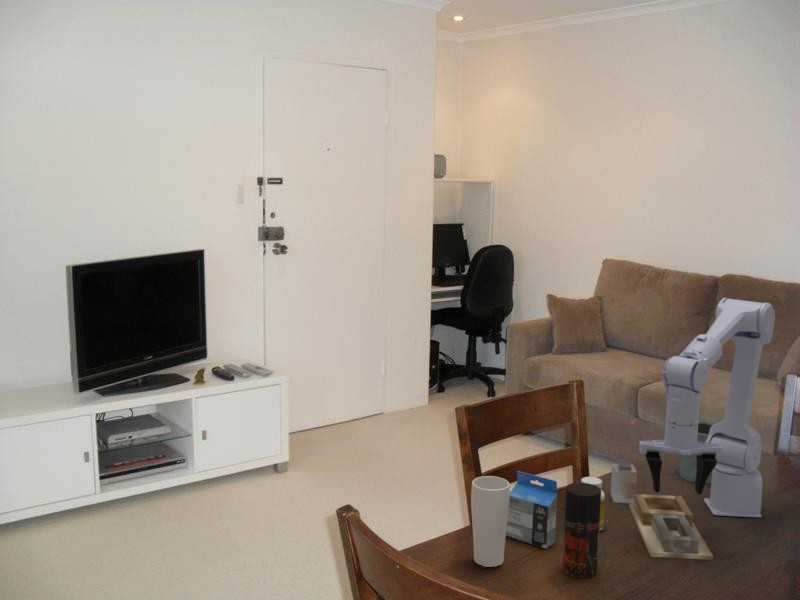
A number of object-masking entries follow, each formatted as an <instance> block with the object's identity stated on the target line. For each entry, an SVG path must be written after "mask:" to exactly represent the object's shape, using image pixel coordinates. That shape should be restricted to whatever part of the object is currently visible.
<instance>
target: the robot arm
mask: <svg viewBox="0 0 800 600" xmlns="http://www.w3.org/2000/svg"><path fill="white" fill-rule="evenodd" d="M775 321H776V314H775V309H774V307H773V305H772V304H771V303H770V302H757V301H749V300H744V299H743V300H742V299H736V298H735V299H734V298H729V297H723V298H722V299H721V300H720V301H719V302H718V303H717V307H716V310H715V320H714V322H713V323H712V324H711V326H710V327H709V329H708V330H707V332H706V333H705V334H703V333H702V334H698V335H696V336H695V337H694V338H693V340H691V342H690V343H689V344H688V345H687V346H686V348H685V349H684V350H683V351H681V353H680V354H679V355H674V356H672V357H669V358H668V359H666V361H665V364H664V365H663V370H662V372H661V379H662V383H663V385H664V389H663V390H664V391H663V392H664V395H665V396H666V411H665V427H664V439H655V440H654V439H653V440H639V441H638V442H639V443H638V444H639V446H638V451H639V453H640V455H644V456H645V459H646V461H647V464H648V467H649V469H650V474H651V478H652V484H653V485H652V489H653V490H654V492H655V493H660V490H661V471H662V466H663V460H662V459H661V455H680V454H681V455H696V459H697V473H696V481H695V483H694V488H695V489H694V491H695V492H696V493H697V495H702V494H703V490H704V488H705V485H706V484H705V482H706V480H707V478H708V476H709V474H710V473H711V471H712V482H711V486H710V497H704V498H703V501H704V503H705V504H706V506H707V507H708V509H709V511H710V513H711V514H712V515H713V516H720V517H721V516H722V517H723V516H724V517H725V516H726V517H741V518H742V517H743V518H762V514H761V512H762V510H761V509H762V500H763V499H762V498H763V497H762V496H763V478H762V477H763V476H762V475H761V472H760V470H758V467H759V466H760V463H761V461H762V460H761V459H762V436H761V435H760V434H759V432H758V431H757V430H756V429H755V428H754V427H753V426H752V425H751V424H750V422H751V421H750V419H751V417H752V416H751V415H752V409H753V403H754V397H755V392H756V384H757V380H758V375H759V374H758V372H759V368H760V362H761V356H762V352H763V351H762V350H763V347H764V346H765V345H768V344H770V343H771V342H772V338H773V334H774V333H773V332H774V328H775ZM729 340H732V341H733V343H734V345H735V351H734V356H733V357H734V358H733V362H732V368H731V375H730V379H729V386H728V393H727V397H726V398H727V399H726V403H725V404H726V405H725V409H724V410H725V411H724V414H723V415H724V417H723V420H721V421H719V422H717V423H715V425H713V426H712V427H711V428H710V431H709V435H708V438H707V440H706V442H705V443H704V442H697V436H698V421H700V419H699V418H700V405H701V392H702V390H704V388H705V387H706V385H707V382H708V378H709V377H710V374H711V369H712V368H713V366H714V365H715V364H716V363H717V362H718V361H719V360H720V358H721V357H722V355H723V350H724V349H723V346H724V345H725V344H726V343H727V342H728V341H729ZM722 434H727V435H722Z"/></svg>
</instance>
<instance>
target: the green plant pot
mask: <svg viewBox="0 0 800 600" xmlns="http://www.w3.org/2000/svg"><path fill="white" fill-rule="evenodd" d="M715 424H716V423H714V422H711V421H710V422H709V421H706V420H705V421H703V420H699V421H698V436H697V442H704V443H705V442H706V440H707V438H708V435H709V431H710V428H711V427H712V426H713V425H715ZM722 435H727V436H728V434H722ZM696 473H697V459H696V455H681V454H679V476H680V477H681V479H683V480H685V481H688V482H691V483H694V484H695V481H696ZM711 482H712V471H711V473H710V474H709V476H708V478H707V480H706V482H705V485H706V484H709V485H710V484H711Z"/></svg>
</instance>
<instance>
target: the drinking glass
mask: <svg viewBox="0 0 800 600" xmlns="http://www.w3.org/2000/svg"><path fill="white" fill-rule="evenodd" d="M510 488H511V487H510V482H509V481H508V480H507V479H505V478H504V477H500V476H494V475H485V476H484V475H483V476H478V477H475V478H474V479H473V480H472V482H471V490H470V491H471V494H470V495H471V496H470V505H471V506H470V507H471V521H472V523H471V524H472V535H473V536H472V538H473V541H472V542H473V561H474V562H475V564H476V563H477V565H478V564H479V565H482V566H485V567H493V566H498V565H500V566H501V565H502V564H503V563H504V559H505V547H506V546H505V545H506V538H507V537H506V530H507V522H508V513H509V503H510V492H511V489H510ZM479 565H478V566H479ZM482 566H481V567H482ZM485 567H484V568H485ZM498 567H499V566H498Z"/></svg>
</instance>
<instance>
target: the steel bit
mask: <svg viewBox="0 0 800 600" xmlns="http://www.w3.org/2000/svg"><path fill="white" fill-rule="evenodd" d="M637 485H638V471H637V469H636V467H635V464H630V463H626V462H618V463H611V481H610V497H611V498H612V502H613V503H614V504H634V494H637Z"/></svg>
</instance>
